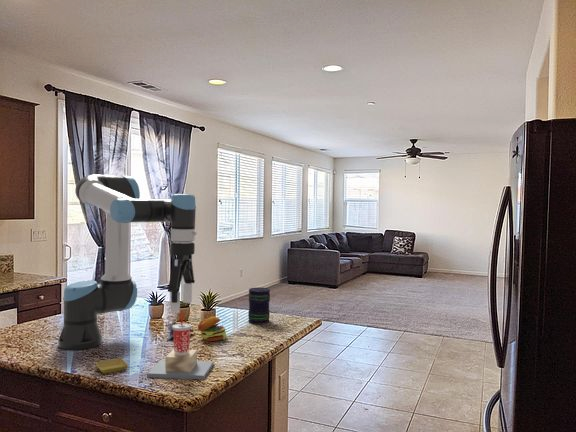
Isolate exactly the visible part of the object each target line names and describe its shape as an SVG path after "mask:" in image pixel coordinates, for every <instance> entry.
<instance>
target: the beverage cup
mask: <svg viewBox="0 0 576 432" xmlns="http://www.w3.org/2000/svg"><path fill="white" fill-rule="evenodd" d="M180 310H181V309H180ZM183 311H184V310H183V309H182V310H181V311H180V313H181V314H180V315H181V316H180V317H181V319H180V320H181V321H180V323H177V324H175V325H173V326H172V329H173V337H174V338H173V349H174V354H175V355H178V356H183V355H187V354H189V350H190V341H191V332H190V329H191V330H192V324H190V323H183V321H184V318H183V316H184V312H183Z"/></svg>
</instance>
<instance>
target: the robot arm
mask: <svg viewBox="0 0 576 432" xmlns="http://www.w3.org/2000/svg"><path fill="white" fill-rule="evenodd" d="M139 187H140V186H139V184H138V182H137V180H136V179H135V178H134V177H131V176H129V175H122V174H121V175H116V174H96V173H94V174H89V175H86V176H84V177H82V178H81V179H80V180H79V181H78V182H77V184H76V185H75V190H74V191H75V192H74V193H75V196H76V198H77V199H78V200H79V202H81V203H82V204H85V205H87V206H90V207H93V206H95V207H97V208H99V209H101V210H102V211H104V213H105V215H106V216H105V219H106V220H105V256H104V258H105V259H104V274H103V275H102V276H101V277H100V282H99V283H98V282H97V281H96V280H90V279H89V280H82V281H76V282H73V283H70V284H68V285H67V286H66V287H64V290H63V297H62V300H63V325H62V326H63V327H62V329H61V332H60V335H59V338H58V344H57V346H58V348H59V349H62V350H68V351H70V350H71V351H74V350H76V351H77V350H79V351H80V350H87V349H90V348H91V349H92V348H94V347H97V346H99V345H101V344H102V342H103V337H102V333H101V329H100V327H99V324H98V315H102V314H108V313H114V312H123V311H125V310H129V309H132V308H133V307H134V305H135V304H136V301H137V297H138V287H137V284H136V282H135V281H134V280H132V276H131V275H130V274H129V239H130V238H129V237H130V235H129V234H130V233H129V232H130V223H170V224H171V225H170V241H171V243H170V254H171V255H173V256H175V257H176V258H173V259H172V262H171V270H170V271H171V272H170V279H169V283H168V288H167V292H168V293H170V310H169V311H170V313H171V314H173V313H174V314H180V313H181V311H180V310H181V291H180V288H181V284H182V280H183V282H184V283H183V288H182V289H183V290H182V291H183V293H182V294H183V295H182V299H183V300H182V304H192V300H193V297H192V296H193V295H192V293H193V284H195V281H196V280H195V274H194V268H193V258H192V257H193V255H194V254H195V249H196V247H195V245H196V244H195V243H194V241H195V240H196V239H195V237H196V235H197V231H196V211H197V210H196V209H197V206H196V196H195V195H194V194H191V193H190V194H187V193H185V194H184V193H183V194H182V193H173V194H172V195H171V199H167V198H157V199H155V198H140V197H141V192H140V188H139Z"/></svg>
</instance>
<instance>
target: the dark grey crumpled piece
mask: <svg viewBox="0 0 576 432" xmlns="http://www.w3.org/2000/svg"><path fill="white" fill-rule="evenodd" d="M175 324H178V323H177V322H173V321H172V323H170V324H169V325H168V330H169V332H168V334H167V338H166V340H168V341H170V340H172V339H174V337H173V329H172V326H173V325H175ZM190 333H194V329H192V328H191V329H190Z"/></svg>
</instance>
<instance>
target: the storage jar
mask: <svg viewBox="0 0 576 432" xmlns="http://www.w3.org/2000/svg"><path fill="white" fill-rule="evenodd" d="M270 292H271V290H270V288H269V287H251V288H248V302H249V303H248V313H247V314H248V323H249V324H251V325H266V324H269V323H270V301H271V298H270V297H271V295H270Z"/></svg>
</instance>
